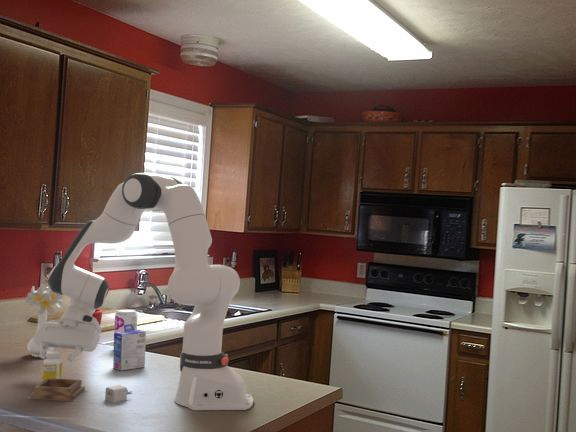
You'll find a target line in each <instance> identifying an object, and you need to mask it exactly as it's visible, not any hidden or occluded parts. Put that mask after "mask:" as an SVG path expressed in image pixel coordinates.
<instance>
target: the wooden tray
mask: <svg viewBox="0 0 576 432" xmlns="http://www.w3.org/2000/svg"><path fill="white" fill-rule="evenodd" d="M33 388H34V391H32V392H31V393H30V395H31V396H30V395H29V396H30V398H37V399H36V400H42V399H56V400H55V401H61V400H75V399H76V398H77V397H78V396H79V395H80V394H82V393H83V392H84V391H86V390H85V386H82V379H75V378H74V379H71V378H62V379H55V378H47V379H45V380H44V381H43V380H41V382H40V383H38V384H36V385H35V386H34V387H33Z"/></svg>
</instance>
